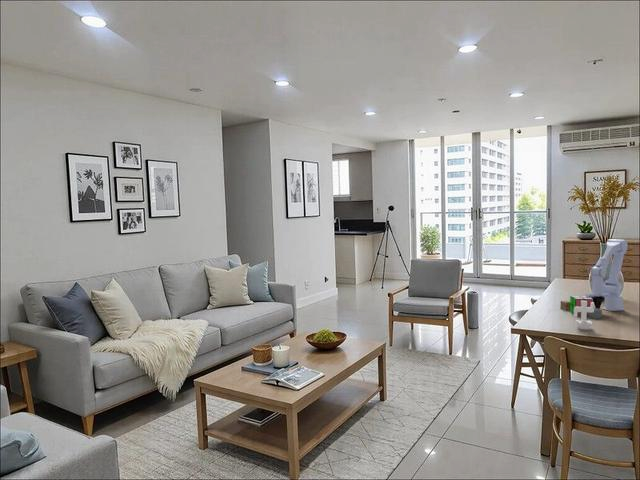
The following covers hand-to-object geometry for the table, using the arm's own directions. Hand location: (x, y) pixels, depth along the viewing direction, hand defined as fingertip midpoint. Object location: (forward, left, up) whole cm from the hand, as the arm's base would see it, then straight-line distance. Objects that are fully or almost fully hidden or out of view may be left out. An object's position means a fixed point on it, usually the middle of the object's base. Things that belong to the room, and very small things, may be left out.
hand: (597, 308), depth 285 cm
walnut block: (+11, -13, -3) cm, 17 cm away
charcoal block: (+9, +10, -2) cm, 14 cm away
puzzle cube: (+10, 0, -3) cm, 11 cm away
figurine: (+31, +32, -3) cm, 45 cm away
